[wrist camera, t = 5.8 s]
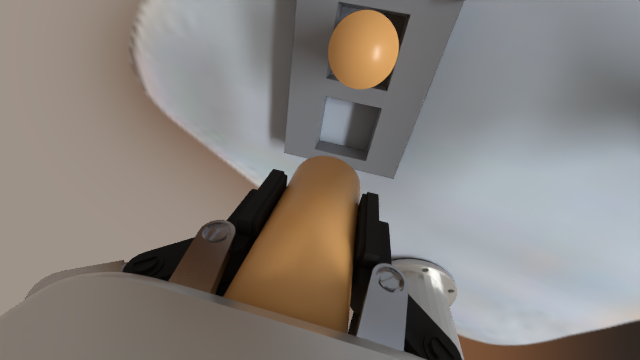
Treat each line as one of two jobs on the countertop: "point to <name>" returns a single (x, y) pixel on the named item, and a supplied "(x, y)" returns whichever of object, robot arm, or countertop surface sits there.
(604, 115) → the countertop surface
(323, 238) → the orange rounded peg
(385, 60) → the orange rounded capsule
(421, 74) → the housing
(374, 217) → the robot arm
